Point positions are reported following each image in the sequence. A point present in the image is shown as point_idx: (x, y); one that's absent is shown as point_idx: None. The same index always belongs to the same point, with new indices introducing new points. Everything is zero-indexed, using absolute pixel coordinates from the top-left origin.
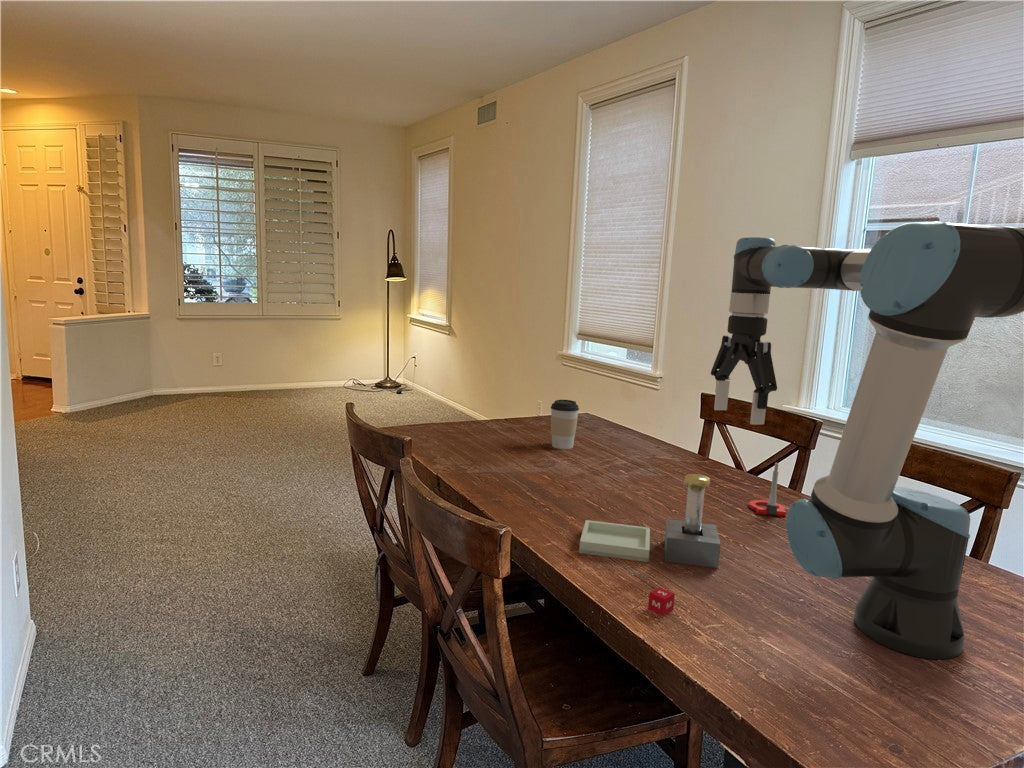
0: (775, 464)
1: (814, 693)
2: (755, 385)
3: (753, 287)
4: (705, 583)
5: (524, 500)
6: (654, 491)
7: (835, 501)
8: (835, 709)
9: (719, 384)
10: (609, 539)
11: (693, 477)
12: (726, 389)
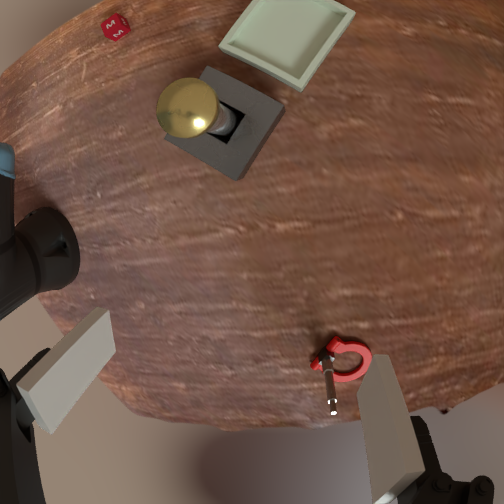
0: (333, 409)
1: (17, 112)
2: (7, 413)
3: None
4: (149, 100)
5: (473, 18)
6: (471, 240)
7: None
8: (8, 117)
9: (398, 459)
10: (299, 26)
11: (189, 97)
12: (374, 461)
